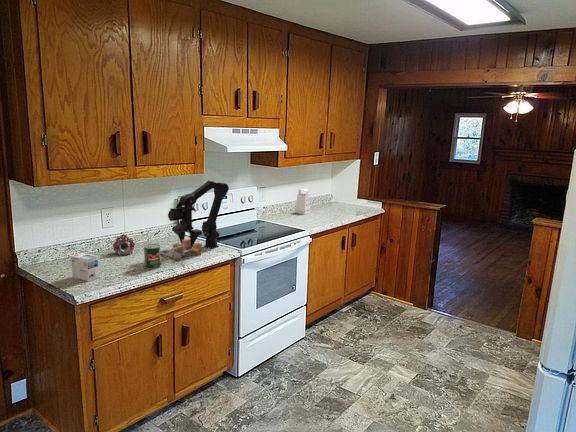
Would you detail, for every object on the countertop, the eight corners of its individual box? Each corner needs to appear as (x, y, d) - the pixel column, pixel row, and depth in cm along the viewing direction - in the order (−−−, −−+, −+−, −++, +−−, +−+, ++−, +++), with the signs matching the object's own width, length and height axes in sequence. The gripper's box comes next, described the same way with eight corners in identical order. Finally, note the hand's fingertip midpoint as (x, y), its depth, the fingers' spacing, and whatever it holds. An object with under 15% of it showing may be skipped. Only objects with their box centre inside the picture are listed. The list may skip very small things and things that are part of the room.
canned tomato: (154, 263, 229) (153, 243, 227) (163, 266, 225) (163, 245, 222) (141, 266, 223) (140, 246, 220) (151, 270, 218) (150, 249, 216)
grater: (300, 210, 382) (301, 188, 378) (310, 212, 377) (311, 189, 373) (294, 212, 373) (295, 189, 369) (305, 214, 368) (306, 190, 364)
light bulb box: (100, 277, 206) (99, 255, 204) (88, 281, 200) (87, 259, 198) (83, 273, 210) (82, 252, 208) (71, 277, 204) (70, 255, 202)
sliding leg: (188, 249, 253) (188, 238, 252) (192, 250, 252) (191, 239, 250) (170, 254, 243) (170, 242, 242) (174, 255, 241) (174, 243, 240)
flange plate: (167, 250, 251) (167, 249, 251) (191, 258, 240) (191, 256, 240) (155, 253, 245) (155, 252, 245) (180, 261, 234) (180, 259, 234)
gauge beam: (178, 247, 258) (178, 237, 257) (202, 254, 247) (202, 243, 246) (160, 252, 248) (160, 241, 247) (185, 259, 237) (185, 248, 235)
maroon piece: (114, 253, 235) (112, 233, 239) (113, 260, 243) (110, 241, 248) (137, 251, 240) (133, 231, 244) (134, 258, 249) (131, 239, 253)
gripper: (164, 218, 245) (164, 245, 249) (187, 223, 235) (187, 251, 238) (179, 215, 254) (180, 241, 258) (202, 220, 244) (202, 247, 247)
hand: (187, 245), depth 250 cm, fingers open, 8 cm apart
